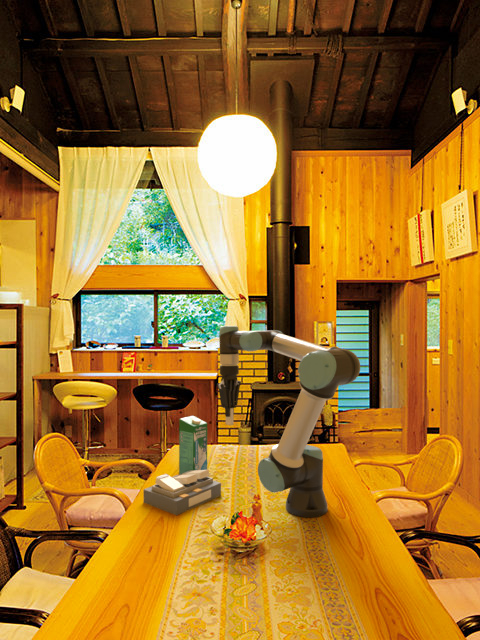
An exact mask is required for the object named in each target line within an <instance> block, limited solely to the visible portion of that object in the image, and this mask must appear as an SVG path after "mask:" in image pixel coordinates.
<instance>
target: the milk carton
mask: <svg viewBox="0 0 480 640" xmlns="http://www.w3.org/2000/svg"><path fill="white" fill-rule="evenodd" d="M178 420H179V422H178V423H179V429H178V430H179V435H178V440H179V441H178V443H179V444H178V445H179V446H178V447H179V450H178V455H179V456H178V459H179V461H178V462H179V463H178V466H179V467H178V475H182V474H183V473H185V472H187V471H190V470H193V471H194V470H208V422H206V421H204V420H202V419H200V418H199V417H197V416H196V415H195V416H194V415H190V416H185V417H181V418H179V419H178Z"/></svg>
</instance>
